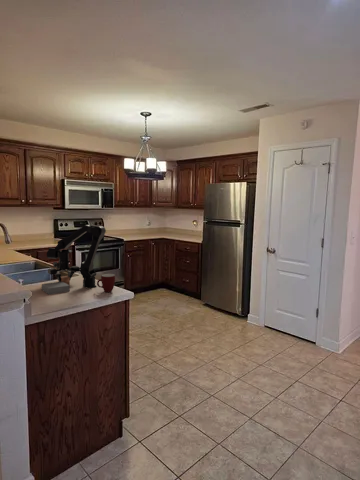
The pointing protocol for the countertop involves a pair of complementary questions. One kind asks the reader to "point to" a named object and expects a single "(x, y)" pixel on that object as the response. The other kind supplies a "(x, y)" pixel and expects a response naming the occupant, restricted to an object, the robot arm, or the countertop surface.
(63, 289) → the plinth
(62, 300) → the countertop surface
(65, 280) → the cube
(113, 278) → the mug
